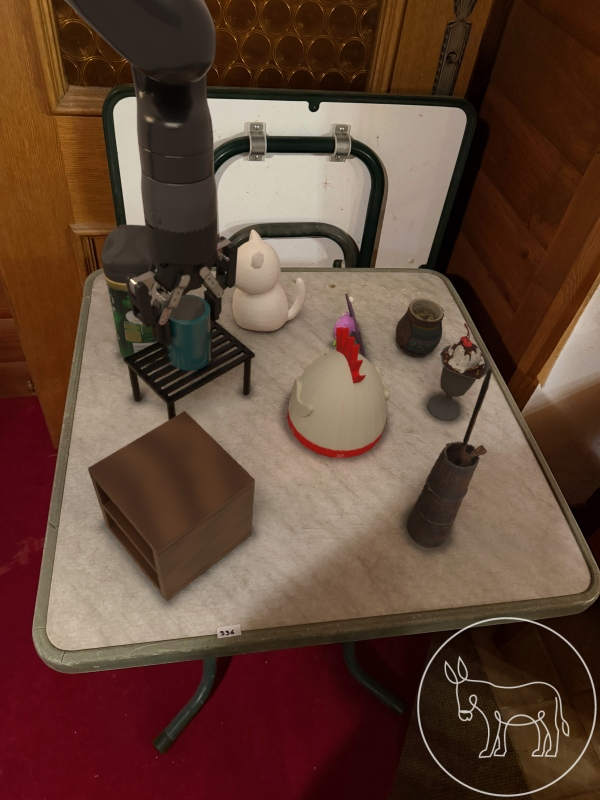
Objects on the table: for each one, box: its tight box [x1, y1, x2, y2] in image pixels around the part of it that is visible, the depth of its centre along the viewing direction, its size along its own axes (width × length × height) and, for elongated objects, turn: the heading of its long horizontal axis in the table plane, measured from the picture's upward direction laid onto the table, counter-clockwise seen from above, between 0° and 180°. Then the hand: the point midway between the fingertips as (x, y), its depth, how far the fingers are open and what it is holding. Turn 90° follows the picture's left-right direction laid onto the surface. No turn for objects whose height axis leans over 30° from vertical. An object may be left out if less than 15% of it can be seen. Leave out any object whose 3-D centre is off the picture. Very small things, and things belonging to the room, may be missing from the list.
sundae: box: [426, 322, 491, 422], centre depth 78 cm, size 7×7×15 cm
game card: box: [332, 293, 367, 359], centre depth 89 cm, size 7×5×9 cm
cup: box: [167, 294, 212, 372], centre depth 71 cm, size 6×6×8 cm
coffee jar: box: [100, 224, 169, 363], centre depth 79 cm, size 10×8×19 cm
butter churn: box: [406, 365, 494, 549], centre depth 59 cm, size 9×10×28 cm
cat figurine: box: [231, 229, 307, 332], centre depth 87 cm, size 9×12×15 cm
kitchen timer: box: [286, 327, 391, 459], centre depth 74 cm, size 14×14×15 cm
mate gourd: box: [395, 297, 445, 357], centre depth 88 cm, size 7×8×10 cm
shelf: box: [87, 410, 256, 602], centre depth 61 cm, size 12×12×12 cm
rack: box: [122, 320, 256, 421], centre depth 77 cm, size 14×10×8 cm
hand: (188, 329), depth 70 cm, fingers open, 7 cm apart
